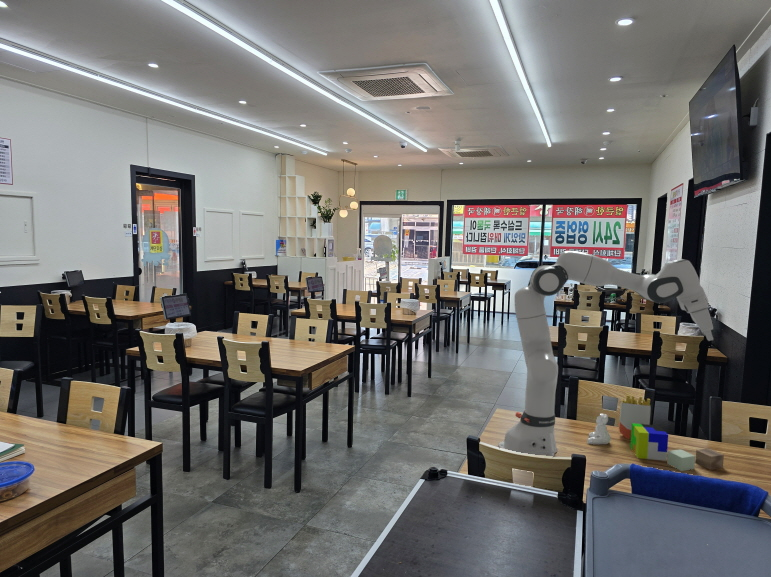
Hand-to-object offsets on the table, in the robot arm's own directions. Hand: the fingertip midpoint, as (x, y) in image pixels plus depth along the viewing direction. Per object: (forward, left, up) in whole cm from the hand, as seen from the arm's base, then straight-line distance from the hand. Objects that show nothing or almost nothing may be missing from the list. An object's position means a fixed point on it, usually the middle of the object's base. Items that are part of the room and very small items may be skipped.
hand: (708, 336), depth 180 cm
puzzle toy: (-11, +12, -48) cm, 50 cm away
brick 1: (-8, 0, -47) cm, 48 cm away
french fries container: (-4, +27, -48) cm, 55 cm away
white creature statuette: (-21, +27, -48) cm, 59 cm away
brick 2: (+3, -2, -47) cm, 48 cm away
